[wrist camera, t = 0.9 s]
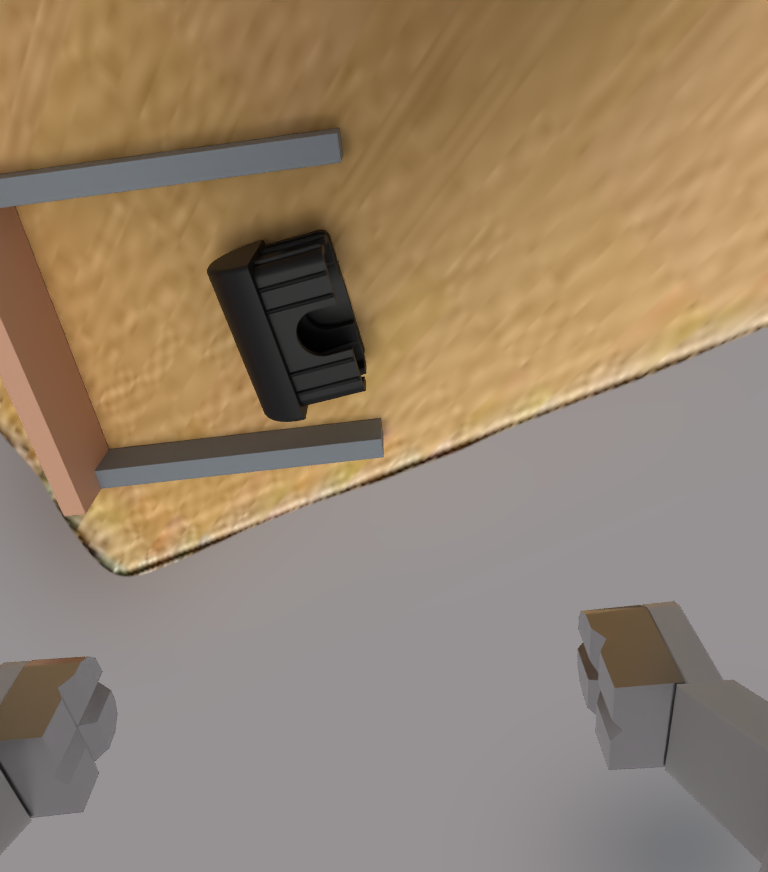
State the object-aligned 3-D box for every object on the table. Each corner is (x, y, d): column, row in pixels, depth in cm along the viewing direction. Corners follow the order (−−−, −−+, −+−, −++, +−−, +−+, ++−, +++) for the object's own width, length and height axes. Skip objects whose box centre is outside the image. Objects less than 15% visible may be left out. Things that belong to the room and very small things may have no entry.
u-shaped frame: (-23, 177, 40) (-82, 195, 34) (339, 128, 38) (334, 138, 33) (96, 468, 50) (64, 516, 45) (383, 435, 49) (384, 480, 44)
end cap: (219, 249, 42) (194, 280, 36) (325, 219, 41) (317, 246, 35) (272, 385, 47) (258, 432, 41) (368, 361, 46) (367, 405, 40)
